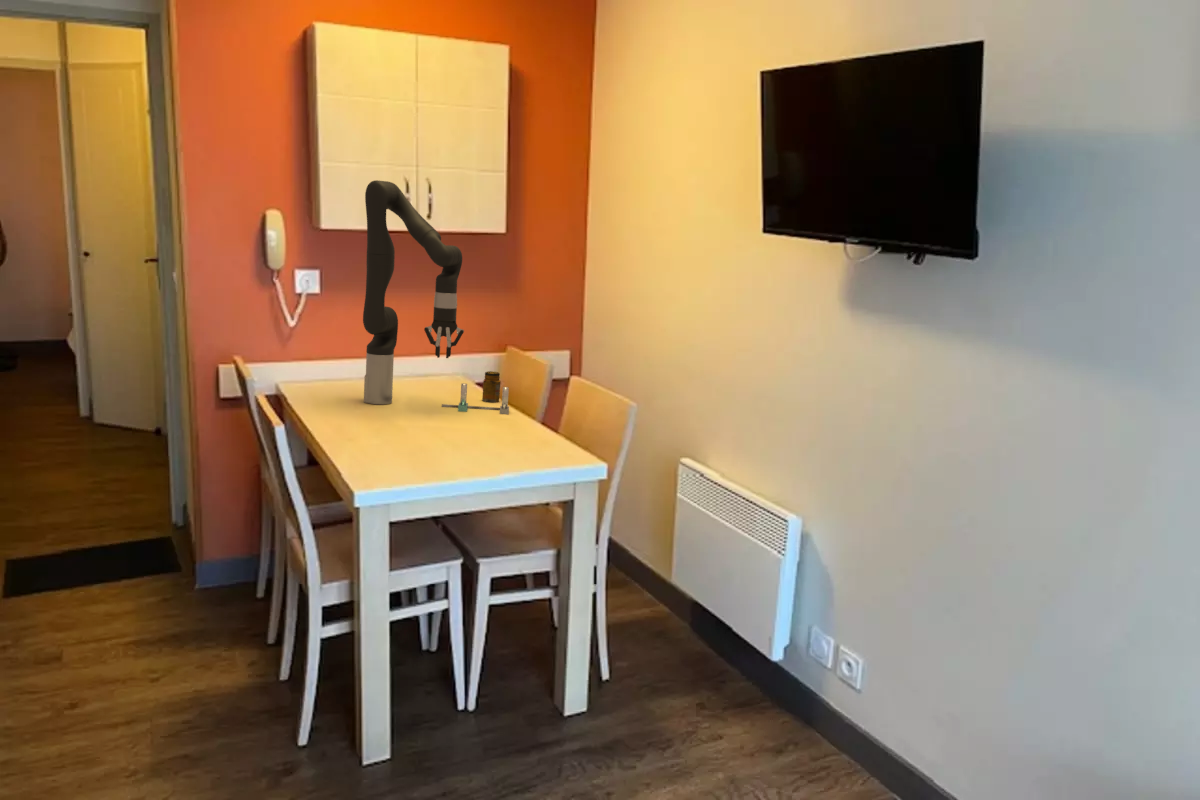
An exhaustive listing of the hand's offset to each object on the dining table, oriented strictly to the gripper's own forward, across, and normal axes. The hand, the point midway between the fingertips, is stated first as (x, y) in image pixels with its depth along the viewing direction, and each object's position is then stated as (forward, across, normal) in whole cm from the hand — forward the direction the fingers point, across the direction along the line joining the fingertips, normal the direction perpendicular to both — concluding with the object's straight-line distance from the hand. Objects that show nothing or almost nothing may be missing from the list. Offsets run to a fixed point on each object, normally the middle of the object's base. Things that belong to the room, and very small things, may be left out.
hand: (443, 357), depth 314 cm
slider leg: (+18, +8, 0) cm, 19 cm away
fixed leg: (+18, +22, 0) cm, 28 cm away
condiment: (+19, +16, +18) cm, 31 cm away
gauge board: (+19, +12, -2) cm, 22 cm away
